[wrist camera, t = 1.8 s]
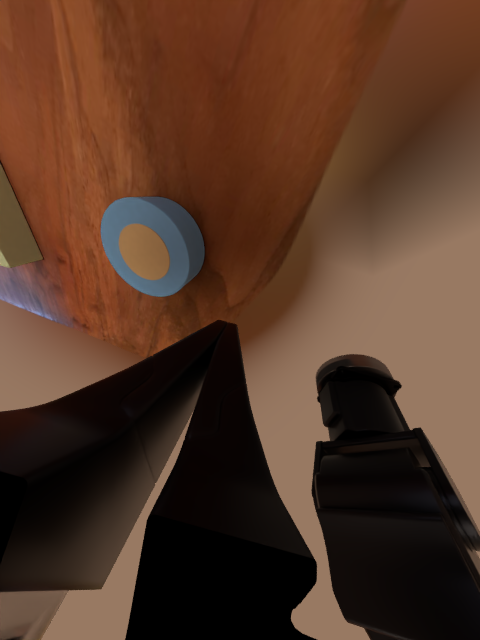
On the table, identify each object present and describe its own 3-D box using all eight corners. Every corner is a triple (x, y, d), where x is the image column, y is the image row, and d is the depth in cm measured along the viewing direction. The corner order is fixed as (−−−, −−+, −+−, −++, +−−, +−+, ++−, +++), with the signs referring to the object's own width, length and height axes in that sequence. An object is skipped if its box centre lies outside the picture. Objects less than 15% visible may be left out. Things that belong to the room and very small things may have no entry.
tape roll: (207, 206, 14) (188, 209, 12) (203, 290, 18) (189, 306, 16) (121, 188, 15) (86, 187, 12) (136, 274, 19) (112, 286, 16)
